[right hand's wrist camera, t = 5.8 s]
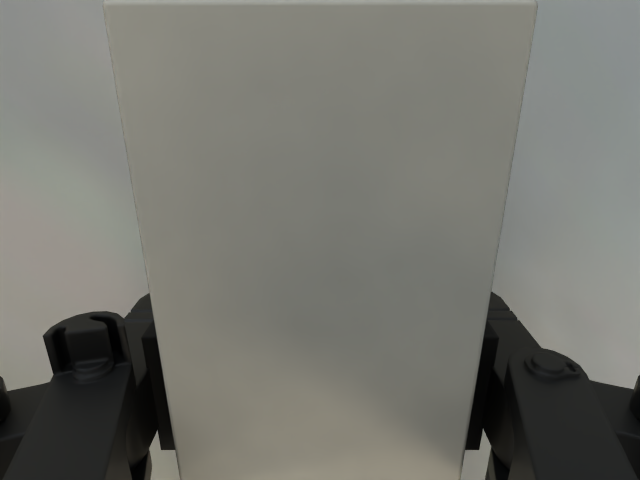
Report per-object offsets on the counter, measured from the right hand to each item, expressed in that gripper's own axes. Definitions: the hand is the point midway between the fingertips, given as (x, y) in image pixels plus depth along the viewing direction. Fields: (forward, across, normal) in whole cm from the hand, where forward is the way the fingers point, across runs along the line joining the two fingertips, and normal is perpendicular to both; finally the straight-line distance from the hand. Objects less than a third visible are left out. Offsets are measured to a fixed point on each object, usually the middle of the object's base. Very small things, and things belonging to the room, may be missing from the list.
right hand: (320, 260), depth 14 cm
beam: (+1, 0, -31) cm, 31 cm away
